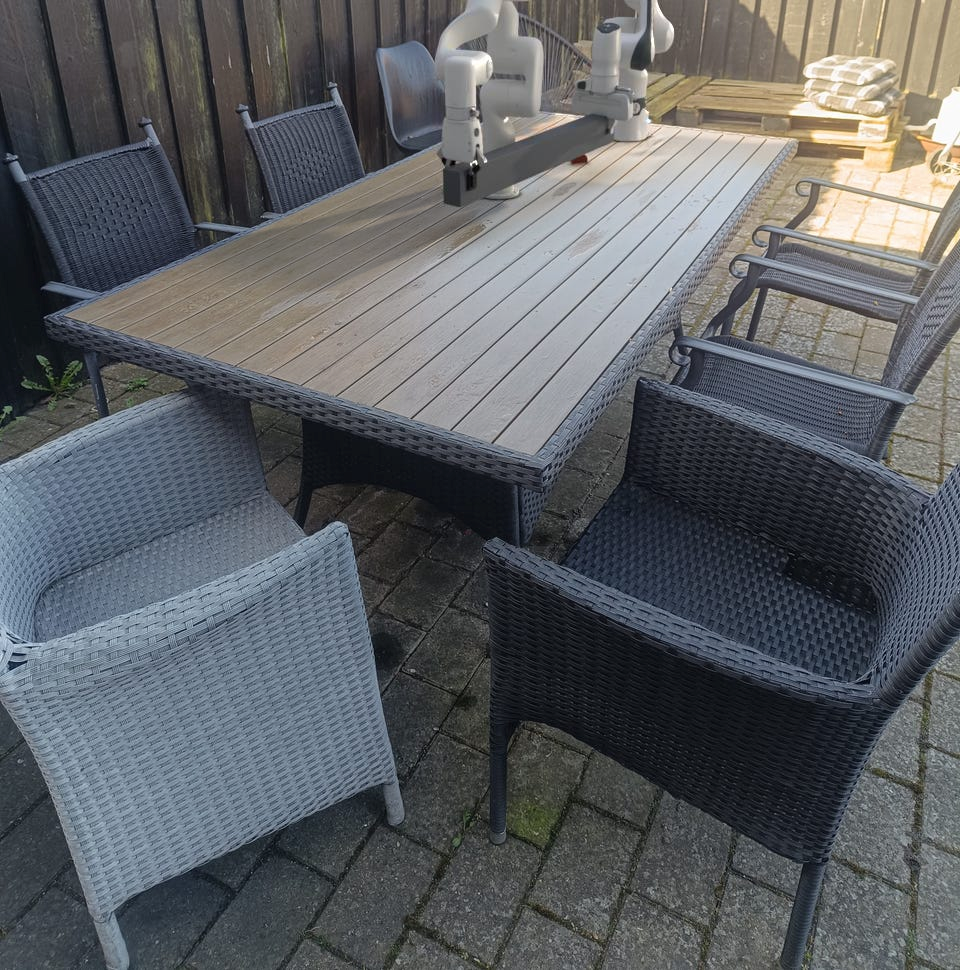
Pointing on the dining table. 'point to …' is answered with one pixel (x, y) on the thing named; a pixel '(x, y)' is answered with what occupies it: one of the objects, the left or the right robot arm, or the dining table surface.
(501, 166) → the beam
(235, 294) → the dining table surface
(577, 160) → the dark red rounded lump
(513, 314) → the dining table surface
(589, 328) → the dining table surface
